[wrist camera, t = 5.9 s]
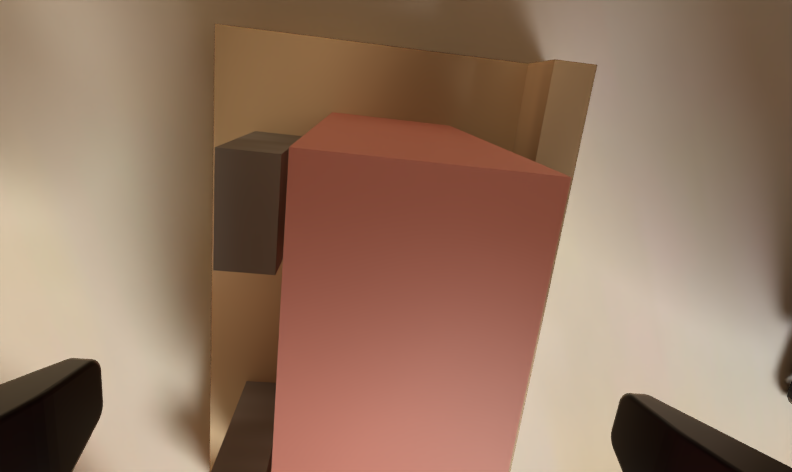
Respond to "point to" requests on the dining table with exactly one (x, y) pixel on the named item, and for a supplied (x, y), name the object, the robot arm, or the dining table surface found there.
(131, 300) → the dining table surface
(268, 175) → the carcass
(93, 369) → the robot arm
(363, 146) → the pink rectangular block
